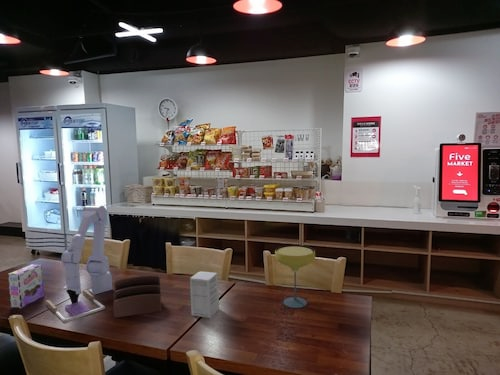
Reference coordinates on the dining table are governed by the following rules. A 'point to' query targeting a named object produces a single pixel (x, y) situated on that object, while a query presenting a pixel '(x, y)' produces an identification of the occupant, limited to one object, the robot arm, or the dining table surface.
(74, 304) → the sponges
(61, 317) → the frame
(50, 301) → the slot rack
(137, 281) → the letter holder
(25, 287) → the candy box
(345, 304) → the dining table surface
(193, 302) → the supplement box
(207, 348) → the dining table surface
